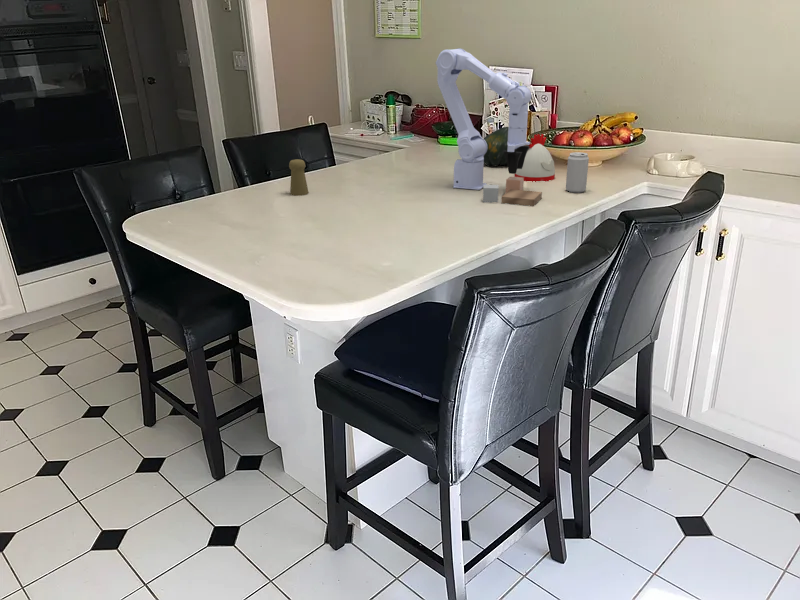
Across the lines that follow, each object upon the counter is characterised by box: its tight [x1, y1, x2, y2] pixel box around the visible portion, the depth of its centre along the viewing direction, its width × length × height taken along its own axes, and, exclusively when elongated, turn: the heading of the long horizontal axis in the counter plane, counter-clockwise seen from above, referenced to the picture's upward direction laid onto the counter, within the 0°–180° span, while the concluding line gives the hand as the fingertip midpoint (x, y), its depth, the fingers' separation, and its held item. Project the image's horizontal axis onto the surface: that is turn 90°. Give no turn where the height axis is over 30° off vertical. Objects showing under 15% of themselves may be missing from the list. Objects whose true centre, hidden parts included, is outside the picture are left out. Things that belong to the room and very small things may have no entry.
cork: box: [288, 158, 310, 197], centre depth 212 cm, size 6×6×11 cm
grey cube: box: [482, 184, 499, 203], centre depth 201 cm, size 4×4×4 cm
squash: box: [483, 126, 509, 167], centre depth 248 cm, size 14×15×15 cm
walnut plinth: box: [500, 189, 543, 207], centre depth 200 cm, size 10×10×2 cm
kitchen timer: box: [514, 133, 556, 183], centre depth 227 cm, size 14×14×15 cm
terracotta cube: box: [505, 176, 525, 193], centre depth 210 cm, size 4×4×4 cm
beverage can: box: [565, 151, 590, 194], centre depth 208 cm, size 6×6×12 cm
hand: (515, 171), depth 208 cm, fingers open, 7 cm apart
